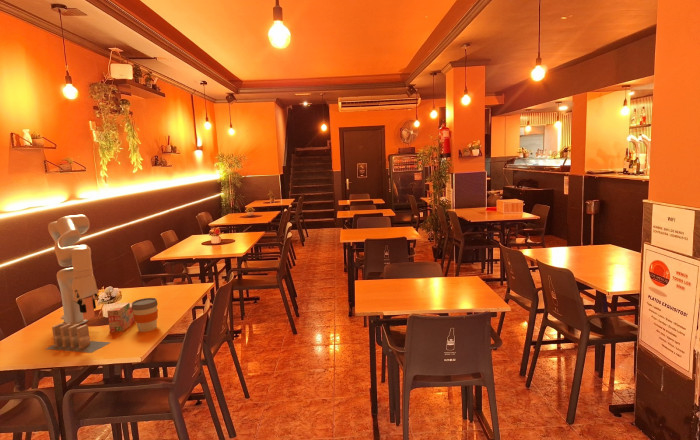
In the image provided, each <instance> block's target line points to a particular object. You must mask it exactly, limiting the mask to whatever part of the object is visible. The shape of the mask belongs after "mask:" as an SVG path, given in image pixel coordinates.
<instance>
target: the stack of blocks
mask: <svg viewBox="0 0 700 440" xmlns="http://www.w3.org/2000/svg"><path fill="white" fill-rule="evenodd" d="M106 312H107V319H108V326H109V327H108V328H109V332H110V333H113V332H124V331H125V330H126V329H127V328H129V327H130V326H131V325H132V324H134V323H136V322H135V319H134V316H133V313H134V312H133V310H132V302H118V303H117V304H115V305H114V306H112V307H111V308H109V309H108V310H106Z"/></svg>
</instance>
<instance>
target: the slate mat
mask: <svg viewBox="0 0 700 440" xmlns="http://www.w3.org/2000/svg"><path fill="white" fill-rule="evenodd" d="M111 343H112V342H110V341H96V340H95V341H94V340H90V345H88V346H86V347H84V348H79V345H78V346H76V347H74V348H71V345H69V346H67V347H63V344H62V345H60V346H58V347H57V346H55V344H53V345H50V346H48V347H46V348H45V350H51V351H62V352H66V351H67V352H77V353H90V354H91V353H94V352H96V351H98V350H100V349H102V348H105V346H107V345H109V344H111Z"/></svg>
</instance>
